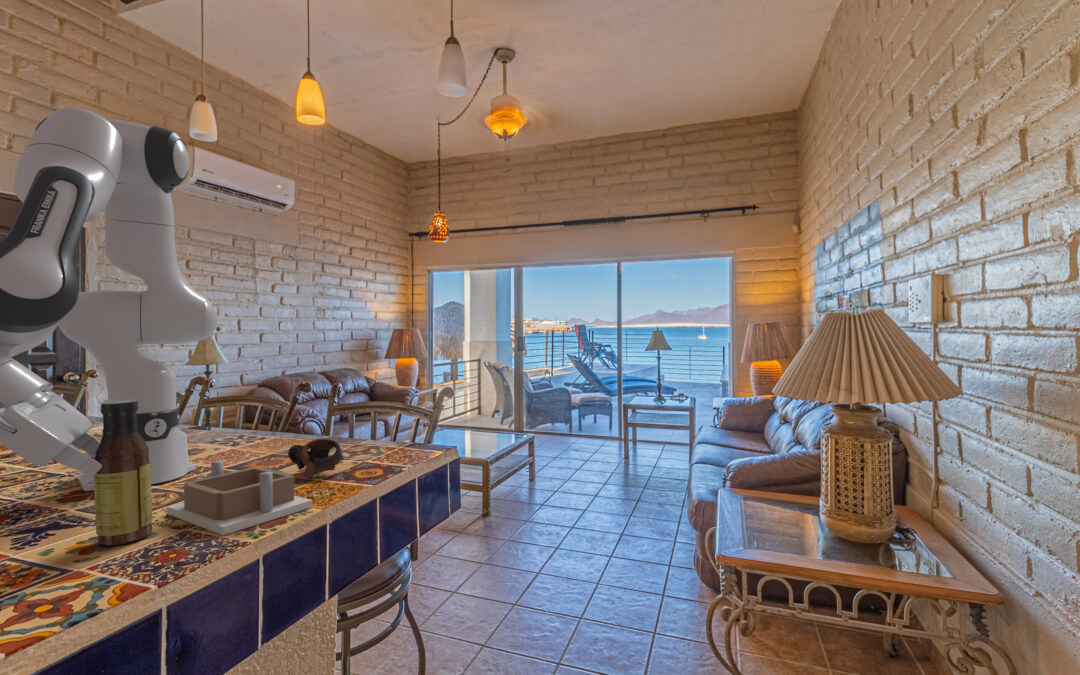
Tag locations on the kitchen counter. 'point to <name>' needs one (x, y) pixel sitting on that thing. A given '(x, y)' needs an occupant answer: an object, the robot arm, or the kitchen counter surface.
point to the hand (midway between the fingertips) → (103, 464)
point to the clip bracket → (238, 499)
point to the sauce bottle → (122, 477)
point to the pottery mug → (315, 456)
